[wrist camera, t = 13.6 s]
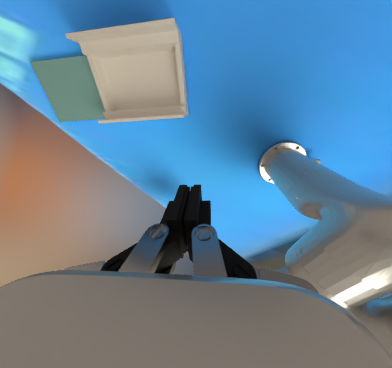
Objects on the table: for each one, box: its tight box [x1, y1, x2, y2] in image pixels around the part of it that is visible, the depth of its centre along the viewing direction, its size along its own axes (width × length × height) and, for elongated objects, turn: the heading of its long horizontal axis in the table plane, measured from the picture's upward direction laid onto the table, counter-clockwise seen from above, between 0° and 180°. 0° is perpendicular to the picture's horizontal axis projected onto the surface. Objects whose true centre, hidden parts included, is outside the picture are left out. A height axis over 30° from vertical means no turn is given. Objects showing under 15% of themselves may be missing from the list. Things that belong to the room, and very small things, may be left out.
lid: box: [31, 55, 105, 122], centre depth 37 cm, size 16×13×2 cm
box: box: [66, 18, 189, 123], centre depth 32 cm, size 20×15×8 cm
